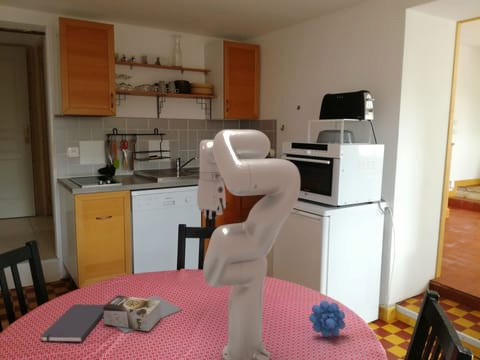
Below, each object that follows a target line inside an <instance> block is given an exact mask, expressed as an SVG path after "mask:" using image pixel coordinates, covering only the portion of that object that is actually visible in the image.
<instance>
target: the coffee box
mask: <svg viewBox="0 0 480 360" xmlns="http://www.w3.org/2000/svg"><path fill="white" fill-rule="evenodd" d="M103 305H104V306H103V315H104V318H103V324H104V325H107V326H114V327H115V326H119V327H125V328H131V329H136V330H139V331H144V332H145V331H146V332H150V331H151V330H152V329H153V328H154V327H155V326H156V324H157V323H158V322H159V321H160V320H162V319H161V301H157V300H150V299H146V298H141V297H135V296H134V297H133V296H127V295H126V296H125V295H119V294H118V295H116V296H115V297H114V298H112V299H111V300H109V302H107V303H105V304H103Z"/></svg>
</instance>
